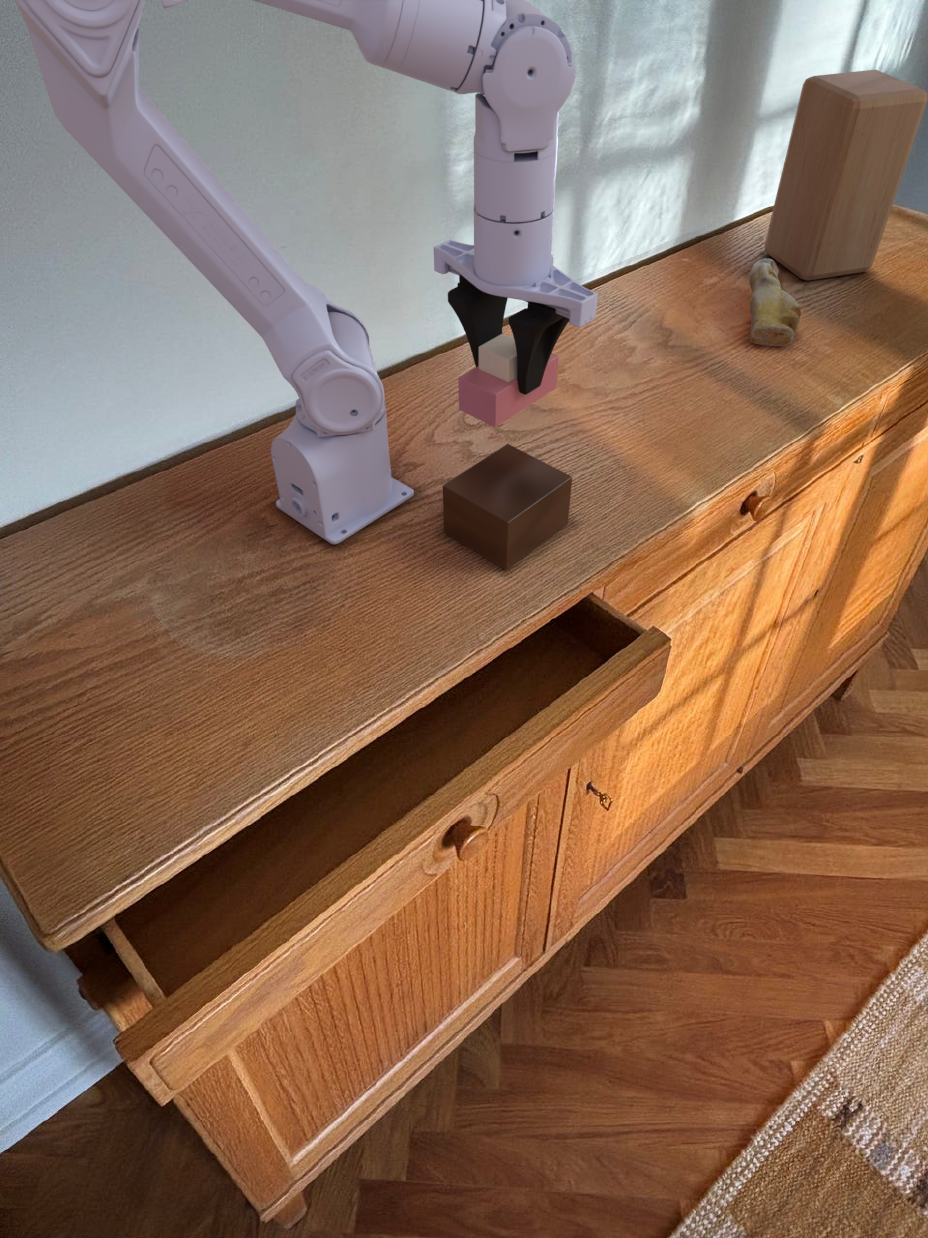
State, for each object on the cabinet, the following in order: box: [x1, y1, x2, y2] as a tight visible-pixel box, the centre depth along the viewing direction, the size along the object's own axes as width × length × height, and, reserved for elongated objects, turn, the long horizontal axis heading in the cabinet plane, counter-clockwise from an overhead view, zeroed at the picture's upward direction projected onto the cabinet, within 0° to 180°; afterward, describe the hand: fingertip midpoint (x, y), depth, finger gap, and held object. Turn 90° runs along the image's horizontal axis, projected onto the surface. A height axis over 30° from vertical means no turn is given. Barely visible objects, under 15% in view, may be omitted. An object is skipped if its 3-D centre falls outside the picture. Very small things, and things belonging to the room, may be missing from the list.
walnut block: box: [442, 443, 573, 571], centre depth 72 cm, size 8×7×5 cm
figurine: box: [748, 257, 802, 347], centre depth 98 cm, size 5×5×15 cm
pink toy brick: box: [457, 332, 560, 428], centre depth 71 cm, size 8×4×5 cm, turn 138°
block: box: [764, 69, 928, 281], centre depth 102 cm, size 10×10×20 cm
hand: (509, 379), depth 71 cm, fingers closed on pink toy brick, 4 cm apart
